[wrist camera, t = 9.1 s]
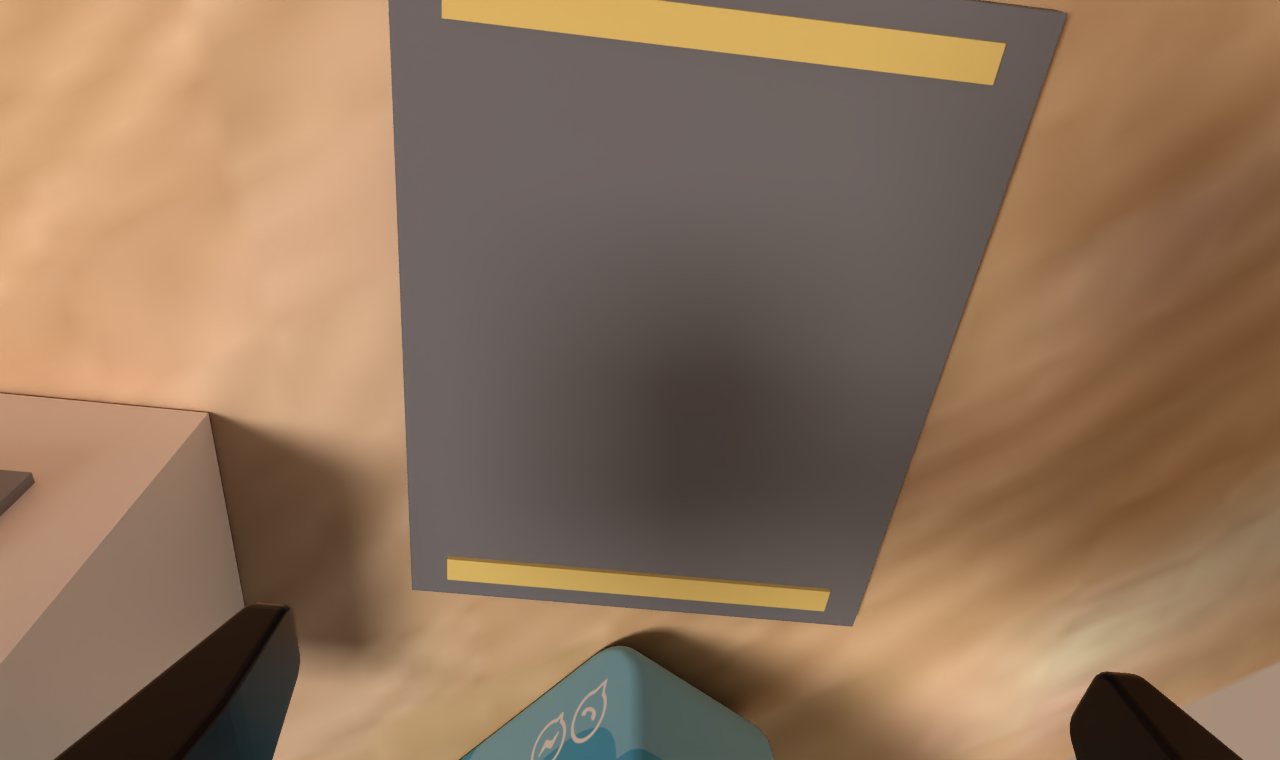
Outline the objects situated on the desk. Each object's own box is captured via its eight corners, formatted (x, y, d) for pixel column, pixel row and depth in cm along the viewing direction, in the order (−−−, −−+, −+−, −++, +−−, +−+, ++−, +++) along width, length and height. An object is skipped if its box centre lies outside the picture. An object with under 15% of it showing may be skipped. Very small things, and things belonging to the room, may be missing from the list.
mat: (848, 613, 19) (853, 630, 19) (416, 576, 19) (410, 592, 18) (1055, 10, 13) (1070, 13, 12) (392, -75, 12) (383, -73, 12)
